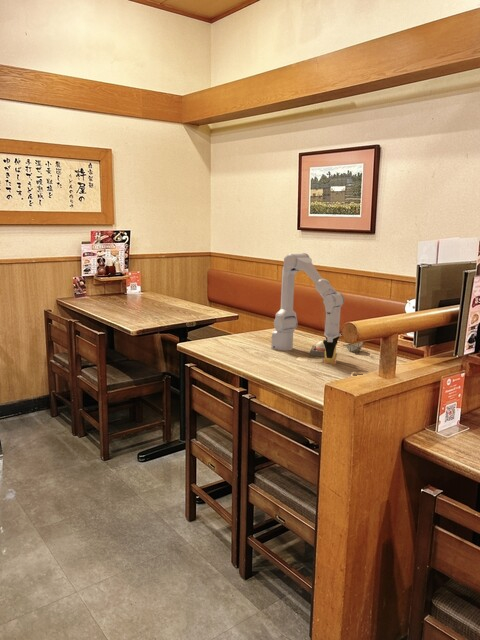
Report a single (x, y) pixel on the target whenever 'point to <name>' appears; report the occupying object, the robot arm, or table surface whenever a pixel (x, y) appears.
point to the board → (312, 360)
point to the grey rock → (354, 347)
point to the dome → (320, 346)
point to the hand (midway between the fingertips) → (330, 355)
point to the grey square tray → (316, 352)
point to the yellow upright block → (330, 360)
